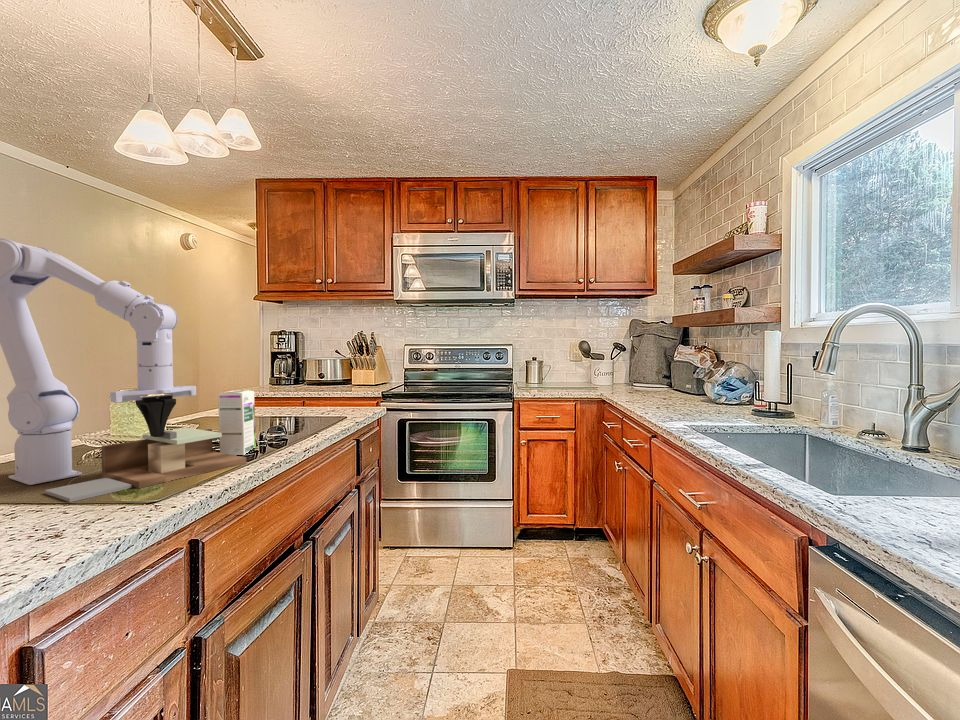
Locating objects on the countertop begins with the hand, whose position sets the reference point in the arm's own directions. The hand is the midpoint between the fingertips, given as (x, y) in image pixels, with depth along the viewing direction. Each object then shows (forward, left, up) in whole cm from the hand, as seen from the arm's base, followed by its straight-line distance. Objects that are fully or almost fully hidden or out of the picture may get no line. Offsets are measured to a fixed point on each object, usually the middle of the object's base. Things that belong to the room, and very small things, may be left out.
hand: (156, 436), depth 95 cm
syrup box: (-4, +20, -8) cm, 22 cm away
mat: (0, -11, -8) cm, 14 cm away
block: (0, +2, -8) cm, 8 cm away
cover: (-1, +5, -1) cm, 6 cm away
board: (-1, +4, -8) cm, 9 cm away
